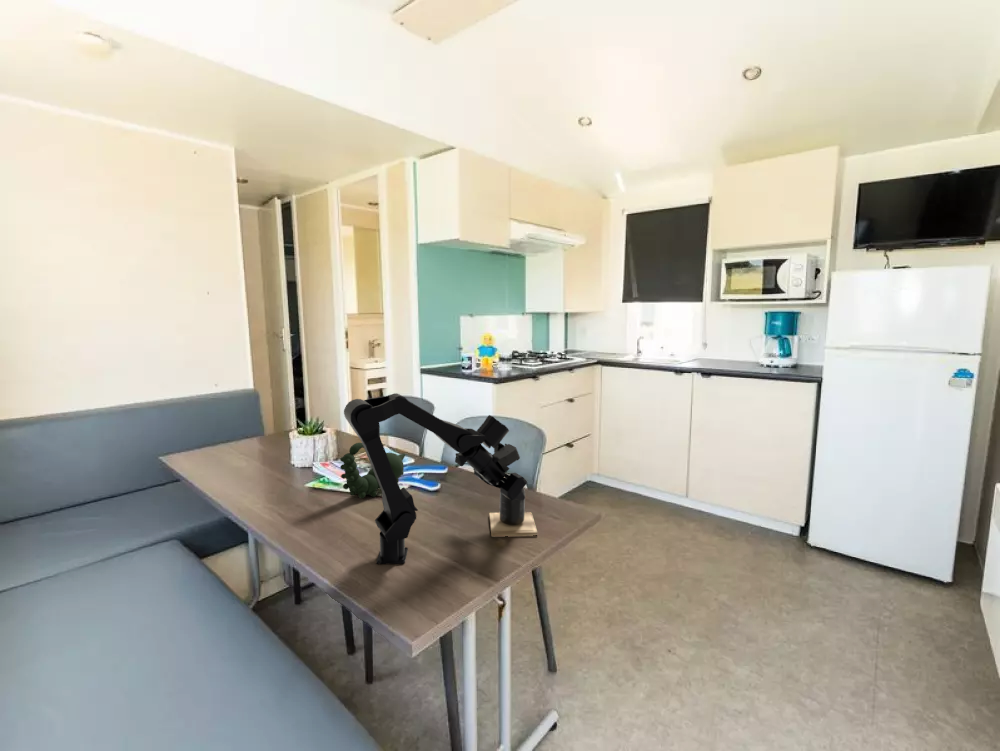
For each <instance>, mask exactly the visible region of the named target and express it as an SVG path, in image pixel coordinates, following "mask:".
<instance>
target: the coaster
mask: <svg viewBox="0 0 1000 751" xmlns="http://www.w3.org/2000/svg"><path fill="white" fill-rule="evenodd" d="M535 522H536V521H535V520H534V516H533V513H532V512H530V511H527V512H526V511H525V515H524V521H523V522H522V523H521V524H518V525H507V524H504V523H502V522H501V521H500V512H489V524H490V532H491V533H490V534H491V538H494V537H495V538H496V537H498V538H499V537H503V538H504V537H505V536H508V537H534V536H533V535H537V536H538V530H537V526H536V524H535ZM527 535H529V536H527Z"/></svg>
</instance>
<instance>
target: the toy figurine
mask: <svg viewBox="0 0 1000 751" xmlns="http://www.w3.org/2000/svg"><path fill="white" fill-rule="evenodd" d="M362 448H363V449H364V446H363V444H362V442H356V443H353V444H352V445H351V446H350V448H349V449H348V450H349V452H347V453H345V454H343V456H341V457H340V458H339V461H340V462H342V463H343V464H341V465H340V469H341V470H343V471H344V473H342V474H341V476H340V477H341V478H342V479H343V480H344V479H346V483H344V484H342V488H343V489H344V490H348V489H349V490H348V491H349V493H350V495H351V496H356V495H358V497H359V499H364V498H366V496H367V495H369V496H371V497H372V498H374V497H376V496H377V495H378V490H379V489H380V490H381V488H380V486H379V483H378V481H377V478H376V476H375V473H374V471H373V469H372V468H371V469H369V471H368V472H367V473H366V474H365V475H362V476H361V475H360V470H359V469H358V463H357V462H356V461H355V459H356V457H355V455H357V454H358V453H359V451H360V450H361V449H362ZM386 454H387V457H388V459H389V462H390V464H391V467H392V470H393V472H394V475H395V477H396V480H397V482H398V483H399V479H400V478H401V476H403V475H404V474H405V473H404V468H405V467H404V466H405V465H404V462H403V460H404V458H405V457H406V453H401V454H396V453H394V452H386Z"/></svg>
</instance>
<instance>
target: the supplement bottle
mask: <svg viewBox="0 0 1000 751" xmlns="http://www.w3.org/2000/svg"><path fill="white" fill-rule="evenodd" d="M506 479H507V478H506ZM522 491H523V494H524V496H525V497H526V490H525V487H524V488H523V489H522ZM525 504H526V498H525V499H524V500H523V501H522V500H517V499H514V500H512V501H511V500H510V499H508V498H507V497H505V496H504V495H503V494H502V493H501V492H500V491H499V513H500V521H501V522H502V523H504V524H507V525H518V524H521V523H522V522H523V521H524V515H525V512H526V510H525V508H526V507H525V506H526V505H525Z"/></svg>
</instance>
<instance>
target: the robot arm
mask: <svg viewBox="0 0 1000 751" xmlns="http://www.w3.org/2000/svg"><path fill="white" fill-rule="evenodd" d="M399 414H400V415H401V416H403V417H405V418H406V419H408V420H410V421H411V422H413V423H415V424H417V425H419V426H421V427H422V428H423V429H425V430H428V431H429V432H431V433H433V434H434V435H435V436H436V437H438V439H439V440H440V441H442V443H444V444H445V445H446V446H448V447H449V448H451V449H453V451H455V452H456V453H455V458H454V463H456V464H457V465H458V466H460V467H464V465H465V464H466V463H467V464H468V465H469V466H470V467H472V469H473V475H474V476H476V478H478V479H479V480H481V481H482V482H484V484H487V485H489V486H491V487H494V488H495V487H496V488H497V489H500V490H499V493H500V492H501V493H502V494H503V495H504V496H505V497H507V498H508V499H510V500H511V501H512V500H514V499H517V500H522V501H523V500H524V499H525V500H526V495H525V496H524V494H523V491H522V489H523V488H524V489H525V486H527V482H528V481H527V479H526V478H525V477H524V476H522V475H520V474H518V473H517V472H512V473H510V474H509V473H507V472H509V470H510V467H509V466H511V465H512V464H513V463H515V462H516V461H519V460H520V459H521V456H520V454H519V451H518V448H517V447H515V445H512V444H510V443H504V444H503V443H501V442H502V441H503V440H504V438H505V437H506V436H507V434H508V433H509V432H510V430H509V428H508V427H507V426H506V425H505V424H504V423H502V422H500V421H499V420H498V419H497V418H495V416H493V415H490V414H488V416H486V418H485V420H484V421H483V423H482V424H481V425H480V426H479V427H478V429H477V430H475V429H473V428H467V427H466V428H464V427H462V426H461V425H458V424H457V423H453V422H450V421H447V420H444V419H441V418H439V417H437V416H435V415H433V414H432V413H430V412H428V411H426V410H425V409H423V408H421V407H420V406H418V405H416V404H414V403H413V402H412V401H409V400H408V399H407V397H405V396H404V395H402V394H400V393H392V394H388V395H384V396H378V397H371V398H367V399H361V398H355V399H351V400H350V401H348V402H347V404H346V405H345V407H344V410H343V415H344V417H345V420H346V421H347V422H348V424H349V425H350V427H351V429H352V430H353V431H354V433H355V434H356V436H357V437H358V438H359V440H360V443H362V444H363V446H364V448H363V449H364V452H365V454H366V456H367V458H368V461H369V464H370V466H371V469H373V471H374V473H375V476H376V478H377V481H378V483H379V486H380V488H381V489H380V491H381V496H382V497H381V498H382V502H381V503H382V507H383V510H382V511H381V513H380V514H379V515H378V516H377V517H376V518H375V520H374V523H375V524H376V527H377V528H378V529H379V531H380V532H379V553H378V556H377V559H376V564H377V565H393V564H394V565H395V564H397V565H398V564H403V565H404V564H405V563H406V560H407V555H408V551H409V547H405V546H406V544H405V542H406V541H405V539H407V538H408V537H409V535H410V532H411V528H412V526H413V525H414V524H415V522H416V520H417V513H416V512H417V511H419V510H418V508H417V507H416V506H415V503H414V498H413V495H412V494H411V493H410V492H409V491H408V490H407V489H406V488H405V487H404V486H403V487H402V488H400V485H399V482H397V480H396V477H395V475H394V472H393V470H392V467H391V464H390V462H389V459H388V457H387V454H386V453H387V452H386V450H385V447H384V444H383V442H382V439H381V431H380V430H381V429H380V428H381V427H380V423H382V422H385V421H386V420H388V419H390V418H392V417H394V416H397V415H399ZM483 445H484V446H483ZM487 448H488V449H491V448H493V452H494V453H493V454H492V453H491V452H489V451H488V450H487ZM506 478H507V479H506Z"/></svg>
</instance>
